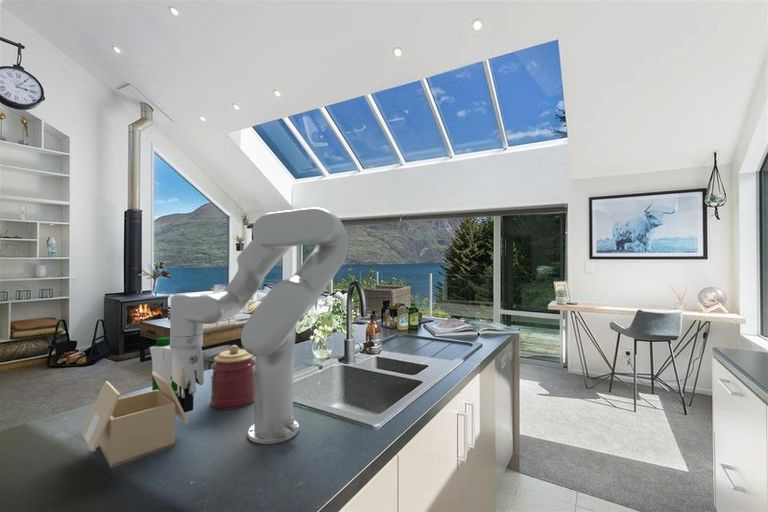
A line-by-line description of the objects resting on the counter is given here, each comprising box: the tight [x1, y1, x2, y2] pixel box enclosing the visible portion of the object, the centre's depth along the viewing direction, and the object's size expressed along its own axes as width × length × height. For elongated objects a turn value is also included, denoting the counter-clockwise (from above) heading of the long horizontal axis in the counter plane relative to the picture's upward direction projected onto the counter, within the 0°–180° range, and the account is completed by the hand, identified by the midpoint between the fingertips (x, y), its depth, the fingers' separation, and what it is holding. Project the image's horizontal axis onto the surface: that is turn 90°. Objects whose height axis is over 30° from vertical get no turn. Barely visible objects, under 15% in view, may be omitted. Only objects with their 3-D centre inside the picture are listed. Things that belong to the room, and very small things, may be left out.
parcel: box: [98, 390, 176, 469], centre depth 87 cm, size 13×12×10 cm
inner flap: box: [151, 372, 189, 424], centre depth 92 cm, size 12×12×1 cm
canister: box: [210, 344, 255, 410], centre depth 114 cm, size 13×13×18 cm
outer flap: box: [80, 380, 121, 452], centre depth 82 cm, size 12×12×1 cm
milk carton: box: [149, 336, 179, 399], centre depth 113 cm, size 9×9×20 cm
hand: (185, 411), depth 95 cm, fingers closed
